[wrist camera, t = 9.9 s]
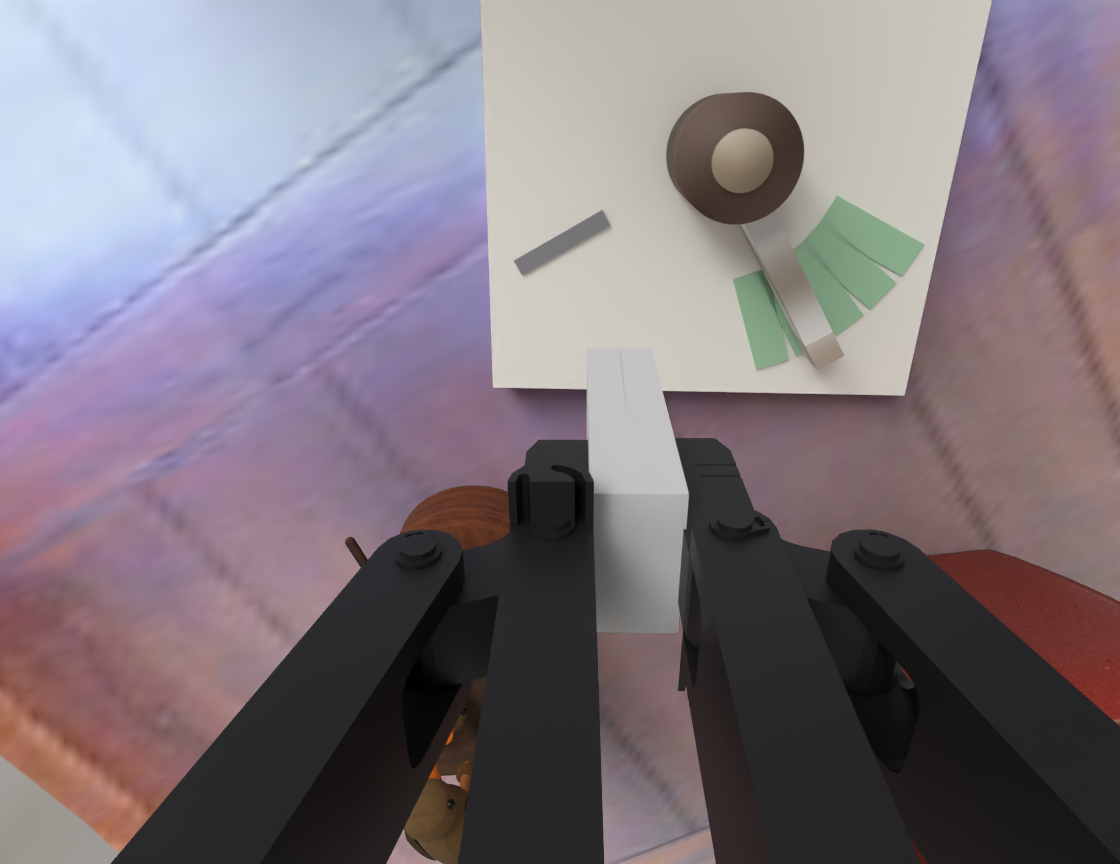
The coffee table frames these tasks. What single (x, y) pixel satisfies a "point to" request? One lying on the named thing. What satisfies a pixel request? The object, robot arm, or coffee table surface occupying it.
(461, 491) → the music box
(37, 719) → the coffee table surface
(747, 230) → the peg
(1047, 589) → the plant pot
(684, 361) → the board
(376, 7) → the coffee table surface
